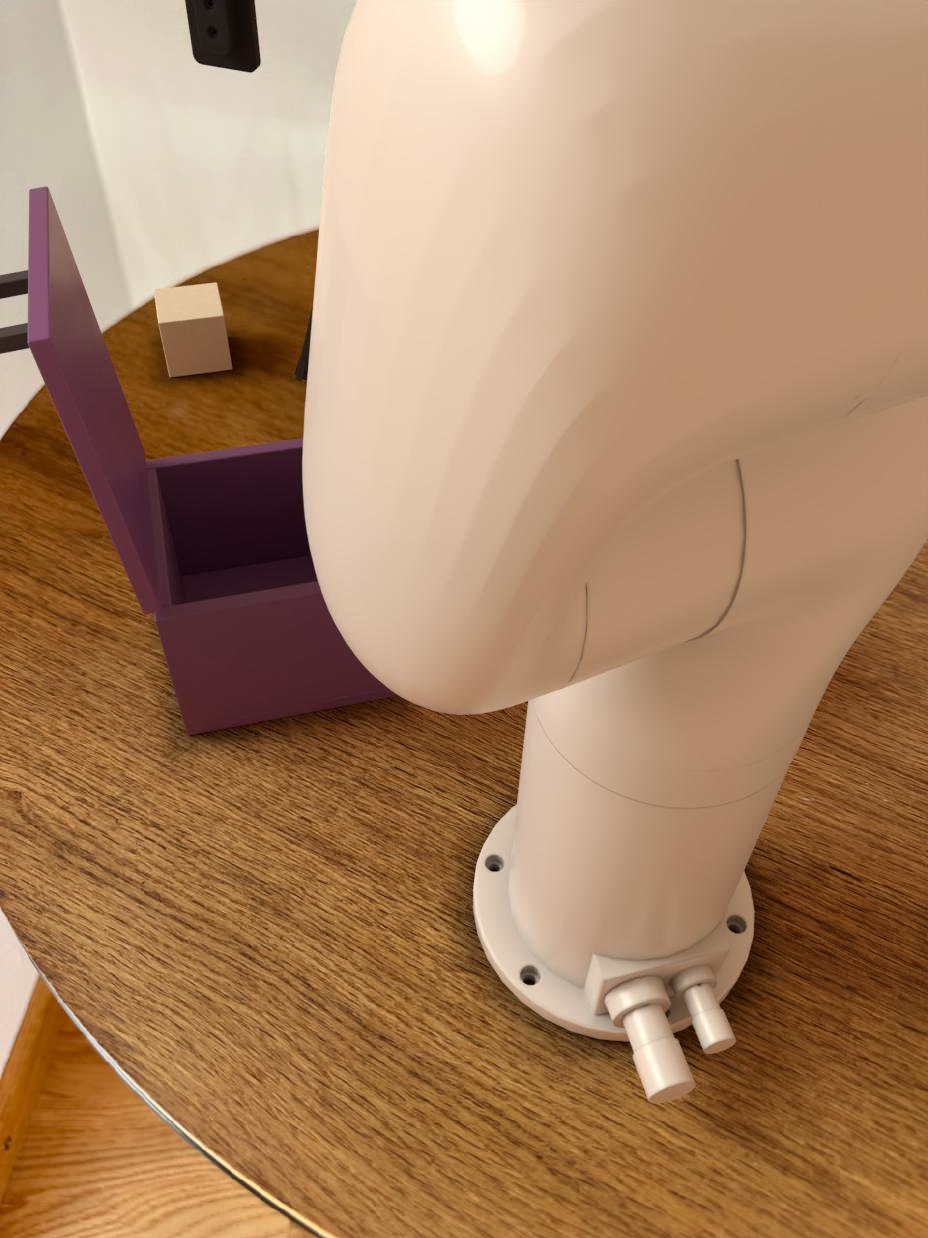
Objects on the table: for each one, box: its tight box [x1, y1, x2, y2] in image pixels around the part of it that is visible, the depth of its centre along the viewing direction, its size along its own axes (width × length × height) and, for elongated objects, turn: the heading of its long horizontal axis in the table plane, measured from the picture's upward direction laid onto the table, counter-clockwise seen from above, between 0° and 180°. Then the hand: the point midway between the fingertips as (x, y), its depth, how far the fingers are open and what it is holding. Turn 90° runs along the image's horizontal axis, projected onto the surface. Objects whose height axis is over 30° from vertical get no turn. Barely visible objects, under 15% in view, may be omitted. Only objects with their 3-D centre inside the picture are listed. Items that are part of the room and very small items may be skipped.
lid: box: [0, 185, 161, 616], centre depth 46 cm, size 14×12×5 cm
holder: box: [146, 437, 400, 737], centre depth 57 cm, size 14×12×9 cm
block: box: [153, 282, 233, 378], centre depth 76 cm, size 4×4×4 cm
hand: (270, 27), depth 53 cm, fingers open, 9 cm apart
